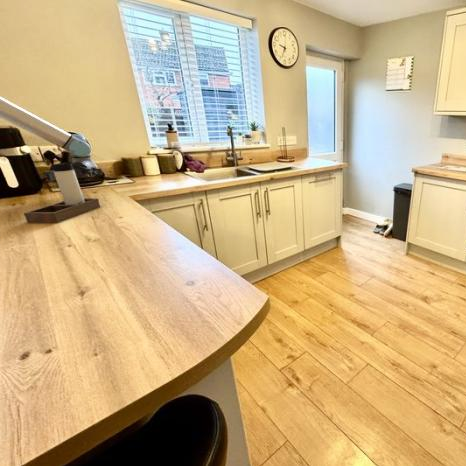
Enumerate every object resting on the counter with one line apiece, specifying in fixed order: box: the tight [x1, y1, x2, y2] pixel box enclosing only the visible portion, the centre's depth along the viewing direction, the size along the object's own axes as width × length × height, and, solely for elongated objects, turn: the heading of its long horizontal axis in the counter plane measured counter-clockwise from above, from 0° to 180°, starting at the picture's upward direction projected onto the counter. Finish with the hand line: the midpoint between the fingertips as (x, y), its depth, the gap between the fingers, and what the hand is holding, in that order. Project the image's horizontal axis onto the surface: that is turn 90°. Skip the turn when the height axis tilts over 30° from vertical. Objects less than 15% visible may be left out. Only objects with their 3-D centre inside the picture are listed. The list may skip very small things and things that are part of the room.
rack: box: [23, 197, 101, 224], centre depth 119 cm, size 11×21×4 cm, turn 2°
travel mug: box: [51, 160, 85, 205], centre depth 121 cm, size 6×7×20 cm
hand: (69, 176), depth 125 cm, fingers open, 13 cm apart
